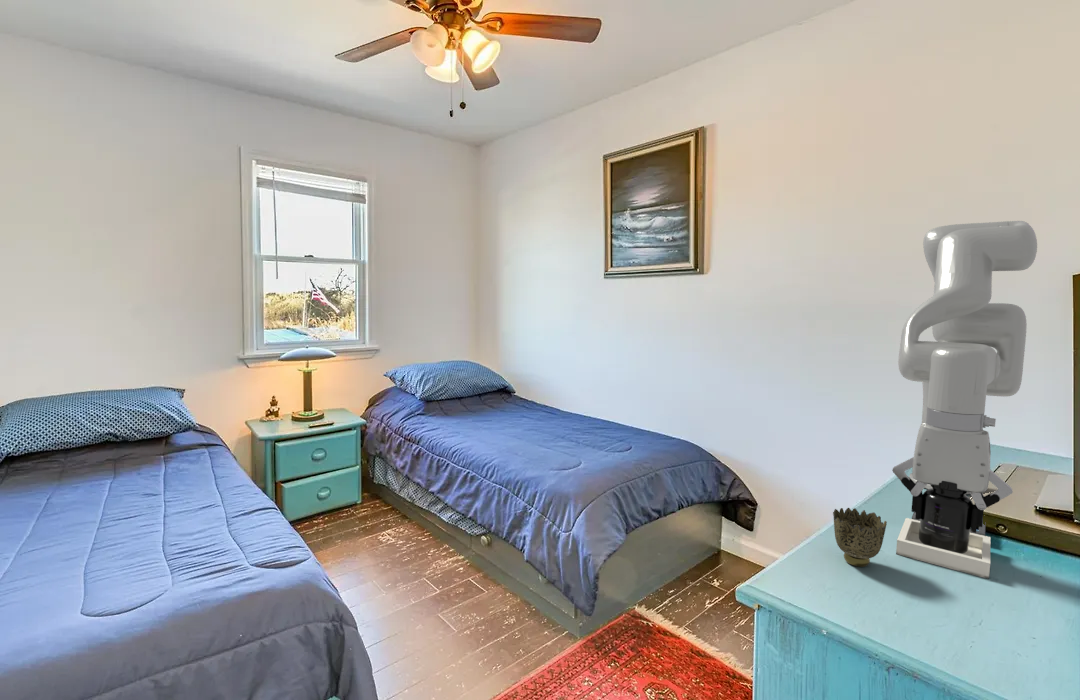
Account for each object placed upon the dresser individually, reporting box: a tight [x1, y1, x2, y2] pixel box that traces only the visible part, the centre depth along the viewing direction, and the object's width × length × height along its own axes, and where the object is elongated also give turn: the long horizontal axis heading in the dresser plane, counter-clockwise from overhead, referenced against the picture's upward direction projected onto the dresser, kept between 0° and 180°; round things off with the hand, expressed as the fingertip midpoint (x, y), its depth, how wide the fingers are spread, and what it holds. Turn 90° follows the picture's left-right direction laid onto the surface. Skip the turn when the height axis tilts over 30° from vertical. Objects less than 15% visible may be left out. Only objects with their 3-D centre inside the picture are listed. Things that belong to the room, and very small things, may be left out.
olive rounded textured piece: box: [832, 507, 888, 568], centre depth 85 cm, size 8×7×8 cm
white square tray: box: [895, 517, 992, 580], centre depth 89 cm, size 12×12×2 cm
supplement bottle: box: [919, 481, 974, 554], centre depth 89 cm, size 7×7×12 cm
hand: (945, 522), depth 89 cm, fingers closed on supplement bottle, 6 cm apart
